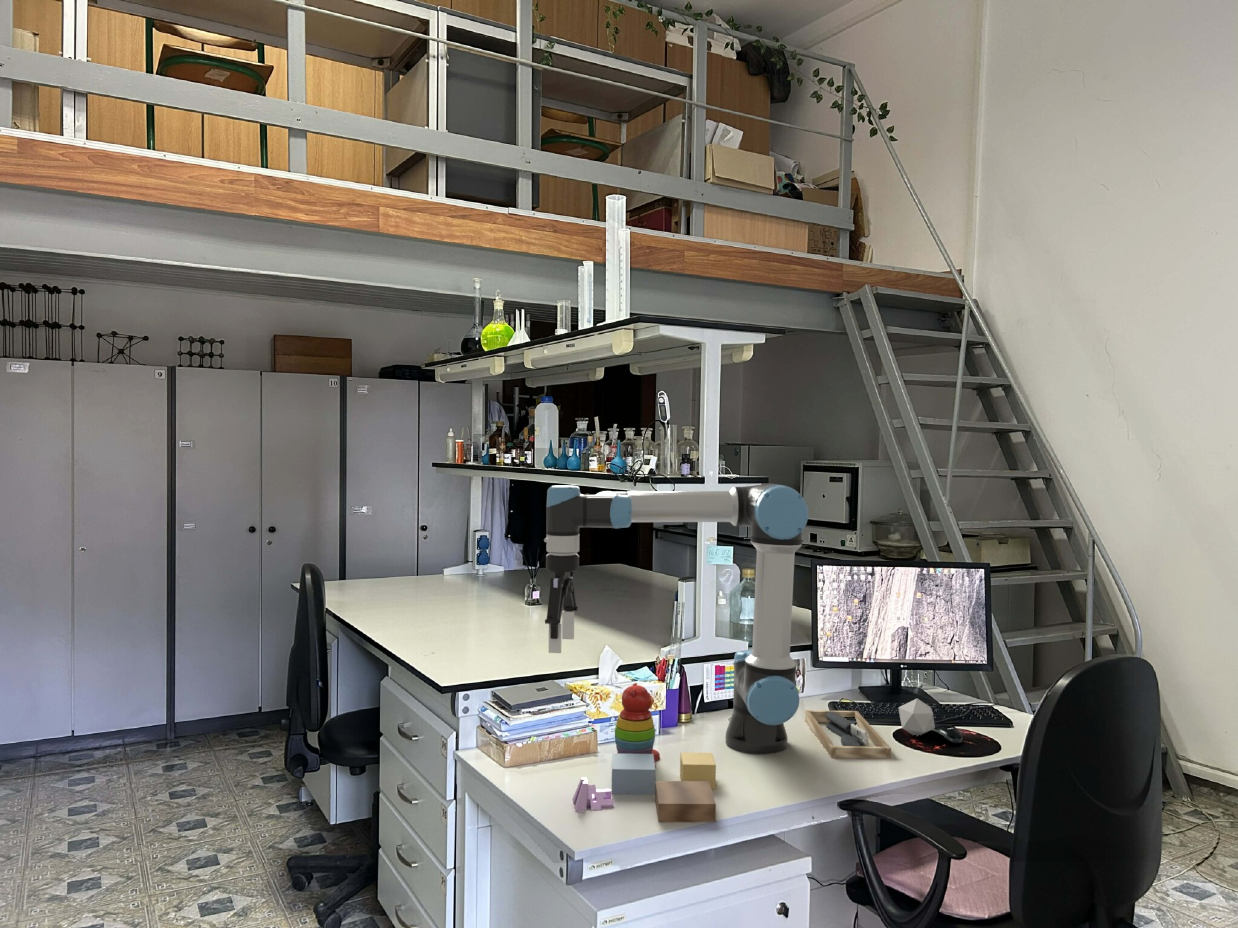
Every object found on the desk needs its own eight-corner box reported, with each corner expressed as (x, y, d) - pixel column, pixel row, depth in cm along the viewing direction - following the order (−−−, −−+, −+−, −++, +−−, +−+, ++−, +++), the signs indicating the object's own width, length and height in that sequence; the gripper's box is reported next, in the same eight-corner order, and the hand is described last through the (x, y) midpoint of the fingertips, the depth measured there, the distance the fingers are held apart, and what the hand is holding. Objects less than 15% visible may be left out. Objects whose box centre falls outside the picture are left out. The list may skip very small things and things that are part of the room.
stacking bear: (653, 772, 190) (655, 693, 190) (609, 768, 192) (610, 690, 192) (661, 755, 201) (662, 680, 200) (619, 751, 203) (620, 677, 202)
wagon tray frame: (857, 721, 227) (857, 710, 227) (890, 760, 199) (890, 748, 199) (804, 721, 227) (805, 710, 227) (831, 759, 199) (831, 747, 199)
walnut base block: (708, 805, 174) (708, 781, 174) (715, 829, 163) (715, 803, 163) (655, 804, 174) (655, 780, 174) (658, 829, 163) (658, 803, 163)
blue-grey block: (652, 780, 186) (653, 753, 186) (654, 797, 177) (655, 769, 177) (611, 780, 186) (612, 753, 186) (611, 797, 177) (612, 768, 177)
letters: (609, 800, 175) (609, 772, 175) (614, 814, 169) (614, 785, 168) (570, 802, 174) (571, 773, 174) (574, 817, 167) (574, 787, 167)
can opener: (874, 753, 205) (875, 733, 204) (850, 755, 203) (850, 734, 203) (839, 727, 223) (840, 708, 223) (816, 728, 222) (817, 709, 222)
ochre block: (711, 779, 187) (712, 752, 187) (715, 792, 180) (715, 764, 180) (680, 779, 187) (680, 752, 187) (682, 792, 180) (682, 764, 180)
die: (937, 735, 218) (938, 696, 218) (929, 745, 210) (930, 705, 210) (903, 729, 222) (904, 691, 222) (894, 738, 215) (895, 699, 215)
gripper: (558, 546, 206) (558, 632, 207) (532, 559, 182) (531, 658, 182) (589, 547, 205) (588, 634, 206) (566, 560, 181) (565, 659, 181)
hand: (561, 645), depth 194 cm, fingers open, 13 cm apart
